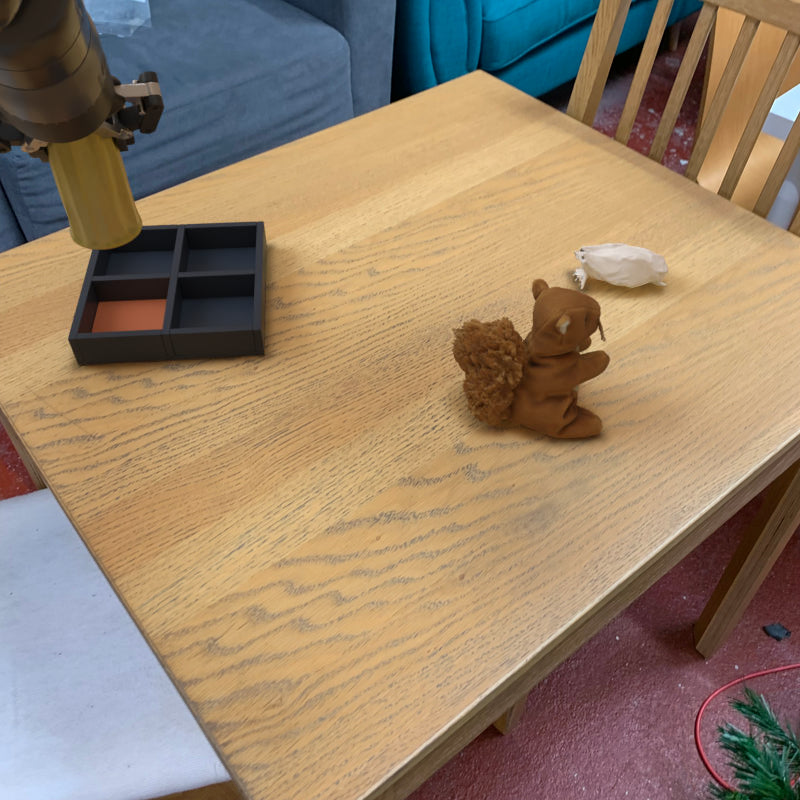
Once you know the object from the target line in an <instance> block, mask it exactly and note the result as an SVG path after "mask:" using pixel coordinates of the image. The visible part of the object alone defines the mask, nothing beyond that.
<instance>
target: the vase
mask: <svg viewBox="0 0 800 800" xmlns="http://www.w3.org/2000/svg"><path fill="white" fill-rule="evenodd" d="M45 149H46V152H47V155H48V160H49V162H48V163H49V165H50V169H51V173H52V175H53V179H54V182H55V185H56V188H57V191H58V194H59V197H60V200H61V203H62V205H63V208H64V211H65V213H66V217H67V219H68V224H69V236H70V238H71V240H72V241H73V242H74V243H75V244H76V245H78V246H80V247H82V248H85V249H88V250H92V249H94V250H105V249H112V248H116V247H120V246H122V245H125V244H127V243H129V242H130V241H132V240H133V239H135V238H136V237H137V236H138V235H139V233H140V232H141V229H142V226H143V219H142V217H141V215H140V213H139V211H138V208H137V205H136V203H135V198H134V196H133V191H132V190H131V186H130V182H129V177H128V175H127V171H126V167H125V164H124V161H123V156H122V154H121V152H120V150H119V148H118V145H117V143H116V140H115V137H109V138H106V139H105V138H103V137H100V136H98V135H96V134H94V133H92V134H90V135H89V136H87V137H85V138H83V139H80V140H77V141H74V142H69V143H48V145H47V146H46V147H45Z"/></svg>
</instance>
